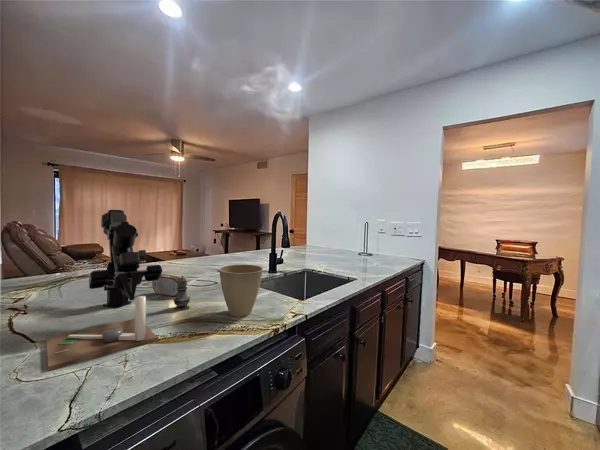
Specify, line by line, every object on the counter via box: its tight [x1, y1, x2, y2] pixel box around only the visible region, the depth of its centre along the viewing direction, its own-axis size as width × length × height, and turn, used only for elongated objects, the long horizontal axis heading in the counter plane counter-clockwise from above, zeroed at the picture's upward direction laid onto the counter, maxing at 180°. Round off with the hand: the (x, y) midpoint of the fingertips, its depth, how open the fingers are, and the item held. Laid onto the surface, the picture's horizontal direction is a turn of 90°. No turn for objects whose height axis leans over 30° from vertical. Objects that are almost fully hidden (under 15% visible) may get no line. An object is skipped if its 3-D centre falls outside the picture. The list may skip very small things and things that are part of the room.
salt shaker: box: [172, 275, 191, 312], centre depth 98 cm, size 6×6×12 cm
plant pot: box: [219, 264, 264, 318], centre depth 95 cm, size 15×15×16 cm
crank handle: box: [68, 295, 147, 342], centre depth 70 cm, size 19×4×11 cm, turn 92°
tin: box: [151, 273, 181, 298], centre depth 113 cm, size 15×3×8 cm, turn 71°
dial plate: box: [45, 318, 158, 372], centre depth 72 cm, size 22×18×1 cm
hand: (132, 299), depth 80 cm, fingers closed
